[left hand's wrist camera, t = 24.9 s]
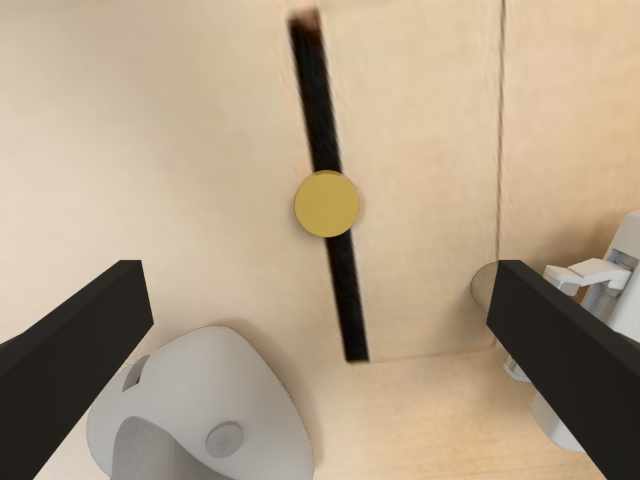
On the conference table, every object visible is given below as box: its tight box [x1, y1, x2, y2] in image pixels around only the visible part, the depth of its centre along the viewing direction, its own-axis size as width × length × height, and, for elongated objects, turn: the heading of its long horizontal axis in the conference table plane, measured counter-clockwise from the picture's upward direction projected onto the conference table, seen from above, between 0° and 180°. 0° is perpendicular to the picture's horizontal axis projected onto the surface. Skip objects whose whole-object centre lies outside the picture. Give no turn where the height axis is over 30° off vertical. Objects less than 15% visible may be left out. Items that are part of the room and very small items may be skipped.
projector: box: [86, 326, 315, 480], centre depth 31 cm, size 22×23×15 cm
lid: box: [295, 170, 359, 237], centre depth 29 cm, size 5×5×2 cm
